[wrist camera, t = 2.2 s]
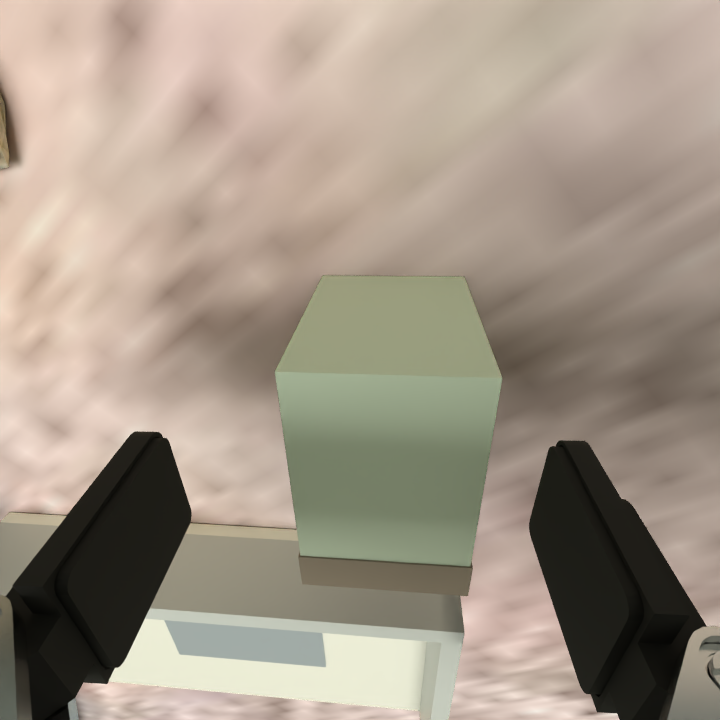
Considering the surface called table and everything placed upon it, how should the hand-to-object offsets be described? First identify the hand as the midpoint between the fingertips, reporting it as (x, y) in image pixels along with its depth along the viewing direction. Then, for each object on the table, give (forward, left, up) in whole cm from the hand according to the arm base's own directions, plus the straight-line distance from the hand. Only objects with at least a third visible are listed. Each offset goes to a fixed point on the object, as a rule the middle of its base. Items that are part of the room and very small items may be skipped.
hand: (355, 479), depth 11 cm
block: (-1, 0, -5) cm, 5 cm away
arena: (+7, +17, -5) cm, 19 cm away
